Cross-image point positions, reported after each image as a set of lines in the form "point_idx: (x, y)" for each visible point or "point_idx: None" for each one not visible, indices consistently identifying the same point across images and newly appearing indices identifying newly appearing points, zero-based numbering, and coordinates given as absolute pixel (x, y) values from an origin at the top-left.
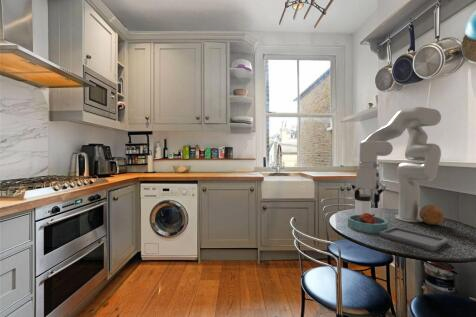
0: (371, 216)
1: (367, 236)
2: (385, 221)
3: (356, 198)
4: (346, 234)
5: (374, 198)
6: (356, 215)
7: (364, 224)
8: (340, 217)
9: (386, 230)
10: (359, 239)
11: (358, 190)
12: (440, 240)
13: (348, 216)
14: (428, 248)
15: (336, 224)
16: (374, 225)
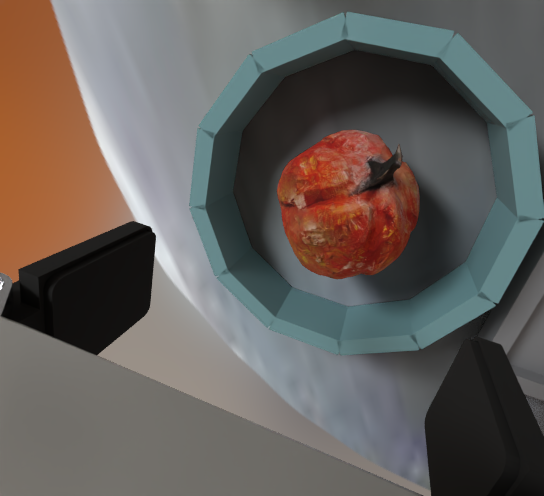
0: (383, 243)
1: (398, 388)
2: (522, 180)
3: (144, 308)
4: (293, 405)
5: (436, 483)
6: (223, 125)
7: (357, 349)
8: (100, 41)
9: (524, 319)
10: (372, 449)
11: (27, 322)
12: None
13: (193, 218)
14: None
15: (175, 258)
16: (430, 337)
